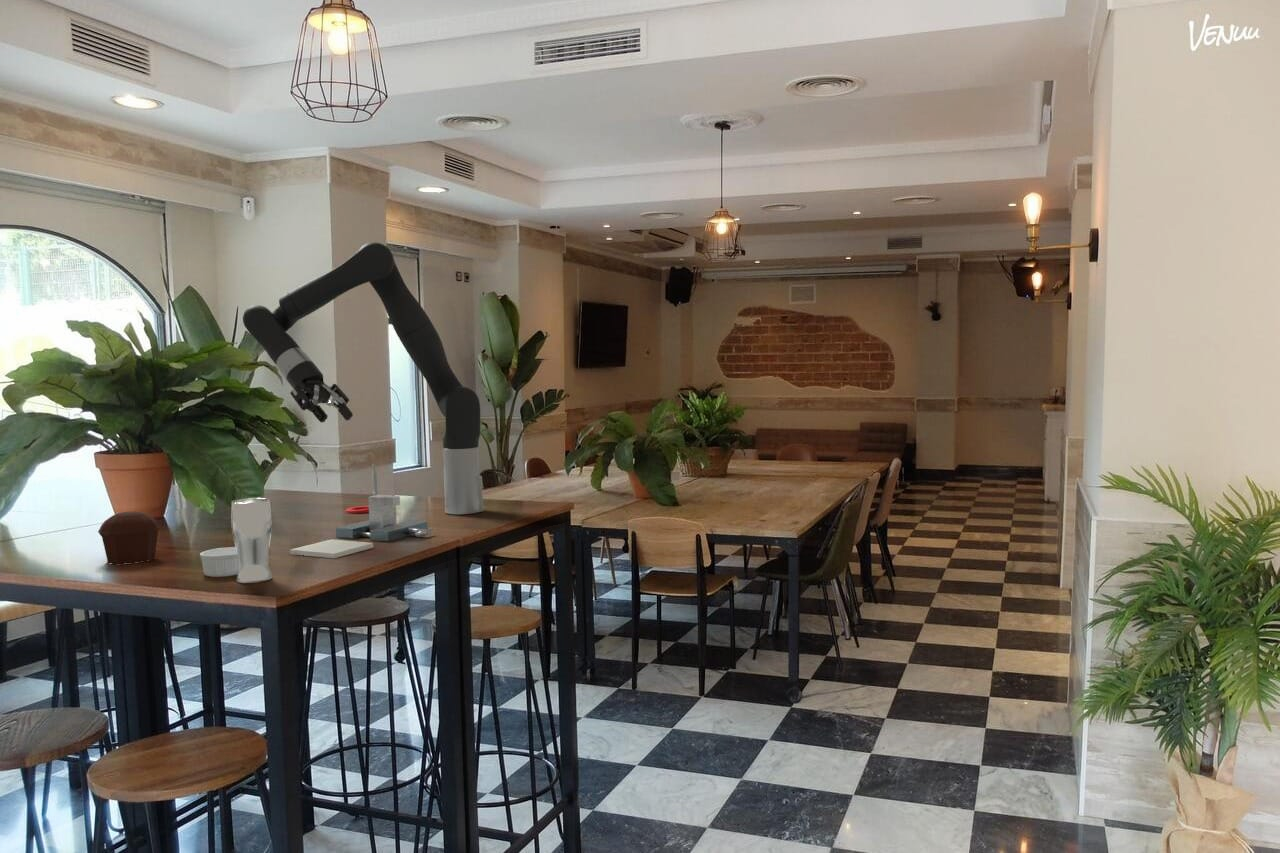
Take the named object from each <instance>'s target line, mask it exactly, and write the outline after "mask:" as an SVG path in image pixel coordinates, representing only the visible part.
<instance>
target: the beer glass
mask: <svg viewBox="0 0 1280 853" xmlns="http://www.w3.org/2000/svg"><path fill="white" fill-rule="evenodd" d="M230 519H231V520H230V522H231V525H230V526H231V532H232V539H233V542H234V543H233V544H234V547H236V552H237V556H238V574H237V575H236V582H237V583H240V584H258V583H263V582H267V581H270V580H272V578H273V575H272V571H271V568H270V561H269V555H270V554H269V553H270V546H271V545H270V544H271V537H272V529H273V528H272V526H273V524H272V521H273V520H272V511H271V503H270V499H269V498H266V497H249V498H248V497H247V498H239V499H234V500H232V501H231V517H230Z"/></svg>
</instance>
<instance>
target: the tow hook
mask: <svg viewBox="0 0 1280 853" xmlns="http://www.w3.org/2000/svg"><path fill="white" fill-rule="evenodd" d="M371 467H372V468H371V469H372V471H371V476H372V478H371V479H372V486H373V487H372V489H373V492H372V496H375V495H380V492H379V487H378V477H377V476H378V474H377V471H376V463H371ZM345 513H346V514H360V513H361V514H362V513H364V514H365V513H369V505H361V506H353V507H348V508H346V509H345Z"/></svg>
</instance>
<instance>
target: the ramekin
mask: <svg viewBox="0 0 1280 853" xmlns="http://www.w3.org/2000/svg"><path fill="white" fill-rule="evenodd" d="M199 557H200V559H201V564H202V571H203V575H204V576H206V577H209V576H210V577H211V578H221V577H223V578H224V577H232V576H237V574H238V556H237V552H236V547H235V546H230V547H226V546H225V547H217V548H212V549H208V550H204V551H202V552H200V553H199Z"/></svg>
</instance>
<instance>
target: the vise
mask: <svg viewBox="0 0 1280 853" xmlns="http://www.w3.org/2000/svg"><path fill="white" fill-rule="evenodd" d="M434 532H435V530H434V528H429V529H428V521H424V520H423V521H422V520H407V521H403V522H399V523H395V525H391V526H387V527H383V528H379V529H375V530H371V531H370V523H369V519H367V520H364V521H360V522H359V521H358V522H355V523H350V524H346V525H343V526H338V527H335V537H336V538H342V539H357V538H370V541H374V542H375V541H376V542H378V541H379V542H386V543H387V542H391V541H395V540H399V539H403V538H407V537H410V536H414V537H415V538H416V537H427V536H428V534H431V533H434Z"/></svg>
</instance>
